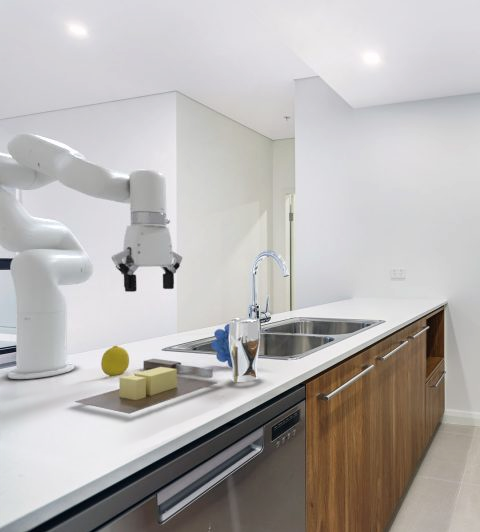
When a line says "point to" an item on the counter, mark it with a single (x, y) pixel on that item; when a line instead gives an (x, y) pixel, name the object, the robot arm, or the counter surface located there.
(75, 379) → the counter surface
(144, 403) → the board
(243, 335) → the beer glass
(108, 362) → the lemon
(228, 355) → the grapes
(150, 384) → the butter block
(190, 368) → the knife
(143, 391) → the butter slice
